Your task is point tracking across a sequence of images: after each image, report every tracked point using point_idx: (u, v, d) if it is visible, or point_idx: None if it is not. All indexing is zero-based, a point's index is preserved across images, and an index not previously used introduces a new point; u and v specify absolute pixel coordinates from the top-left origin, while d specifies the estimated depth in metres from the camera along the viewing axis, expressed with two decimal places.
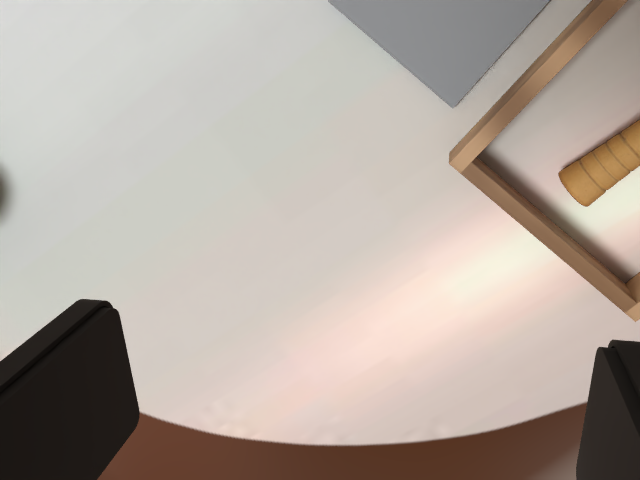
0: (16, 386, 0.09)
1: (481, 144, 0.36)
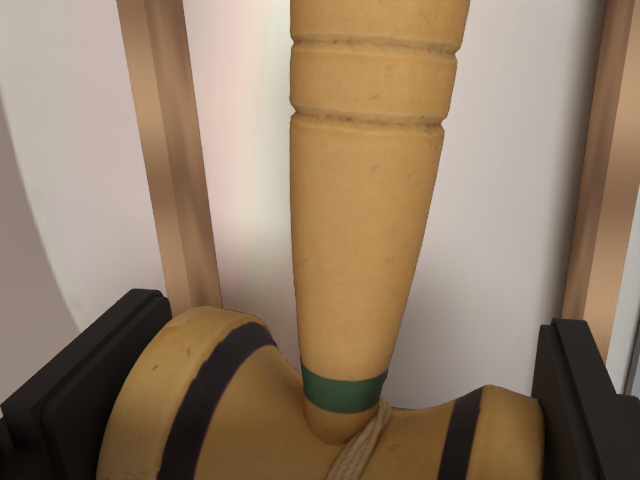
0: (85, 369, 0.09)
1: None
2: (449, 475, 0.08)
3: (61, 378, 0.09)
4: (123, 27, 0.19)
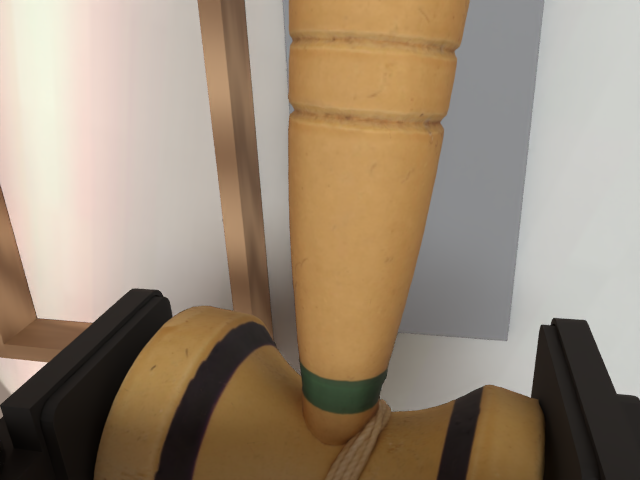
0: (85, 369, 0.09)
1: None
2: (449, 476, 0.08)
3: (61, 378, 0.09)
4: None
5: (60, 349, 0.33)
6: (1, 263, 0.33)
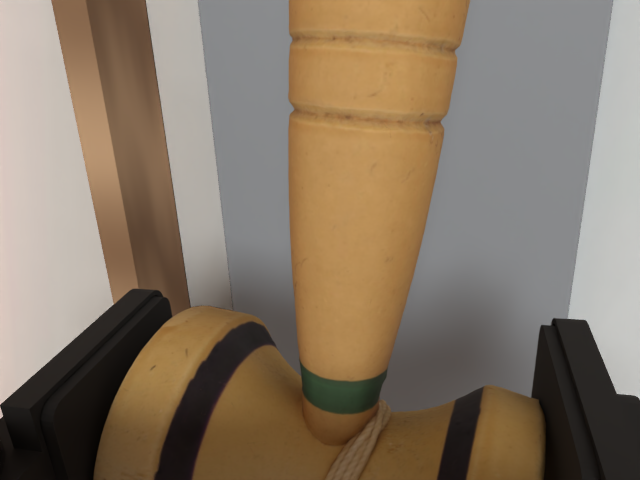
0: (85, 369, 0.09)
1: None
2: (449, 476, 0.08)
3: (61, 378, 0.09)
4: None
5: None
6: None
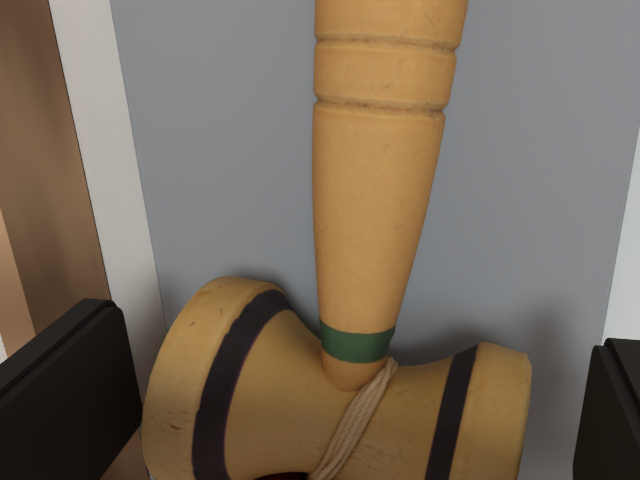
0: (21, 384, 0.09)
1: None
2: (448, 411, 0.10)
3: None
4: None
5: None
6: None
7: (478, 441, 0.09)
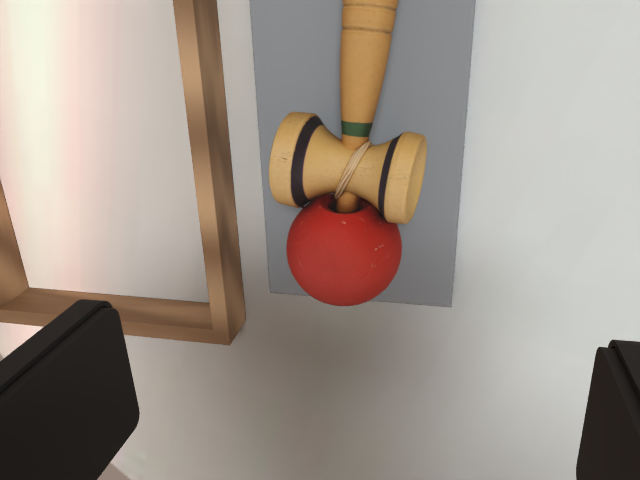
0: (16, 386, 0.09)
1: None
2: (391, 147, 0.25)
3: None
4: None
5: (50, 314, 0.36)
6: None
7: (401, 152, 0.25)
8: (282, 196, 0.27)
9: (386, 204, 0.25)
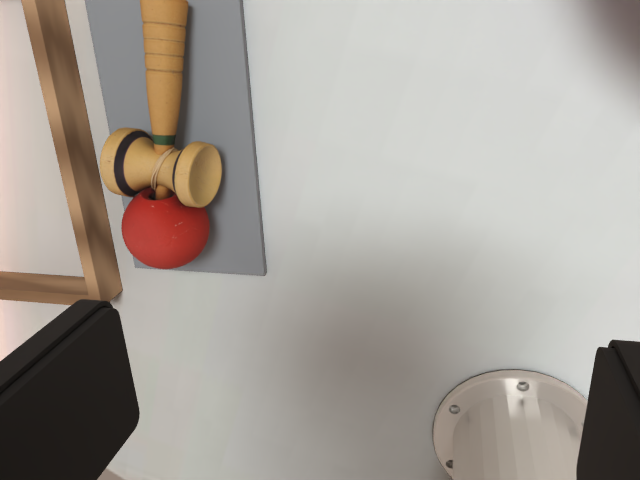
0: (16, 386, 0.09)
1: None
2: (180, 152, 0.36)
3: None
4: None
5: None
6: None
7: (184, 156, 0.35)
8: (113, 188, 0.38)
9: (177, 192, 0.36)
